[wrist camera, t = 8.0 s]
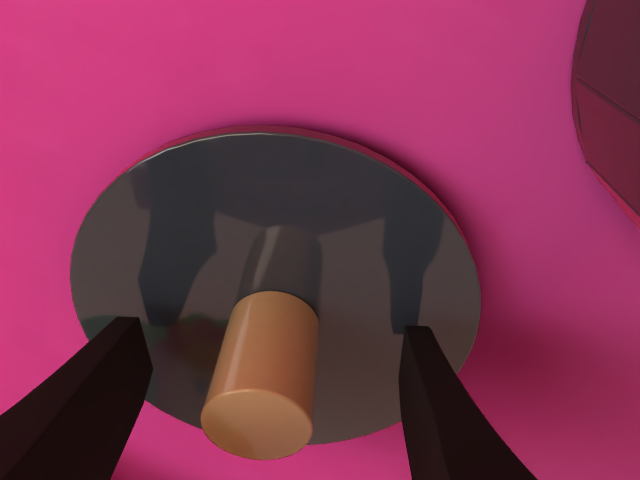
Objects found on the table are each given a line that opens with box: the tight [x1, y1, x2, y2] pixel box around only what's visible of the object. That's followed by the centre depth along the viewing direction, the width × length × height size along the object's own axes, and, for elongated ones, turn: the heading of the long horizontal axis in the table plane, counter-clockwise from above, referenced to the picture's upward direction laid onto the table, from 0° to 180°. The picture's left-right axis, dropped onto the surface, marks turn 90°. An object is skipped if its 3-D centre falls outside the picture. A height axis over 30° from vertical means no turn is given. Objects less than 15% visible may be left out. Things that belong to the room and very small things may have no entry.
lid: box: [70, 125, 481, 460], centre depth 13 cm, size 12×12×4 cm
